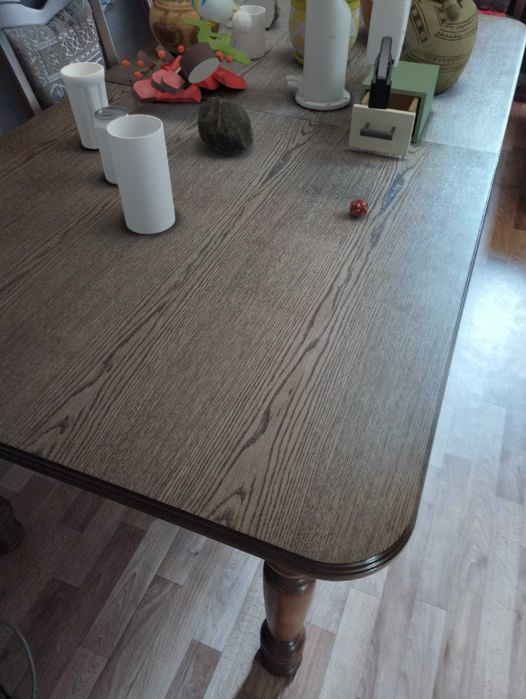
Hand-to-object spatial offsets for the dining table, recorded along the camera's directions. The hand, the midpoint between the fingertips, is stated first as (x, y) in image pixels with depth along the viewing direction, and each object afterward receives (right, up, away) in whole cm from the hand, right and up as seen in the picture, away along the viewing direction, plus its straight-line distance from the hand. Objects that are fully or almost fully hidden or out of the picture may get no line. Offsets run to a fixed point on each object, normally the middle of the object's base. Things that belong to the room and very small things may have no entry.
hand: (377, 106), depth 89 cm
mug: (-22, +42, +61) cm, 77 cm away
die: (-3, -17, +4) cm, 18 cm away
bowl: (+20, +49, +68) cm, 86 cm away
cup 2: (-38, -18, +3) cm, 42 cm away
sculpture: (-19, +62, +81) cm, 104 cm away
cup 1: (-52, +2, +23) cm, 57 cm away
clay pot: (-40, +43, +63) cm, 86 cm away
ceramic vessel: (+20, +24, +44) cm, 54 cm away
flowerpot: (-3, +37, +56) cm, 67 cm away
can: (-45, -8, +13) cm, 47 cm away
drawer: (+5, +3, +21) cm, 22 cm away
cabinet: (+10, +10, +29) cm, 32 cm away
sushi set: (-35, +21, +41) cm, 57 cm away
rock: (-26, +1, +21) cm, 34 cm away
